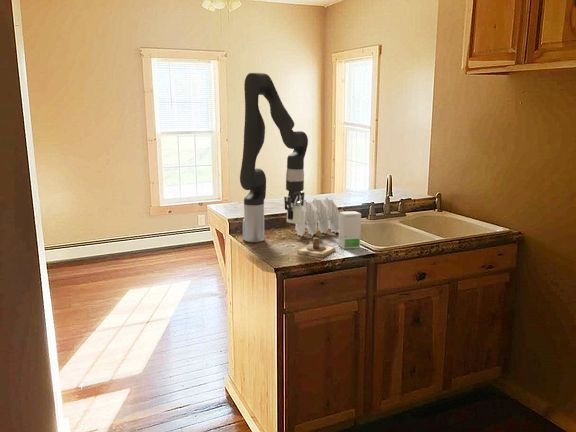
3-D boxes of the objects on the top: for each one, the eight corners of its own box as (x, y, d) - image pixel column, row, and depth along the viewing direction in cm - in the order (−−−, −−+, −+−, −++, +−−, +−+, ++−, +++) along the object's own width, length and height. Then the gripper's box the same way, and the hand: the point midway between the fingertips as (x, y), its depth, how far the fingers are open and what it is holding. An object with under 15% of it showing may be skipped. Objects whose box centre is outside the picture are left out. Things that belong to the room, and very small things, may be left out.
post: (297, 253, 214) (297, 239, 213) (309, 246, 224) (310, 233, 223) (322, 257, 208) (323, 243, 207) (334, 250, 218) (335, 236, 217)
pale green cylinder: (284, 221, 216) (284, 204, 215) (291, 219, 222) (291, 202, 220) (296, 223, 214) (297, 206, 212) (303, 221, 219) (303, 203, 217)
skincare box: (343, 249, 220) (344, 214, 217) (337, 245, 227) (338, 211, 223) (360, 247, 223) (361, 213, 219) (354, 244, 229) (355, 210, 226)
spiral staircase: (340, 241, 249) (294, 244, 238) (326, 220, 261) (282, 222, 251) (351, 211, 238) (303, 213, 228) (335, 190, 251) (290, 191, 241)
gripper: (295, 176, 221) (294, 213, 225) (278, 180, 209) (278, 219, 213) (310, 177, 218) (309, 215, 222) (294, 182, 206) (293, 222, 209)
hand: (294, 217), depth 217 cm, fingers closed on pale green cylinder, 6 cm apart
